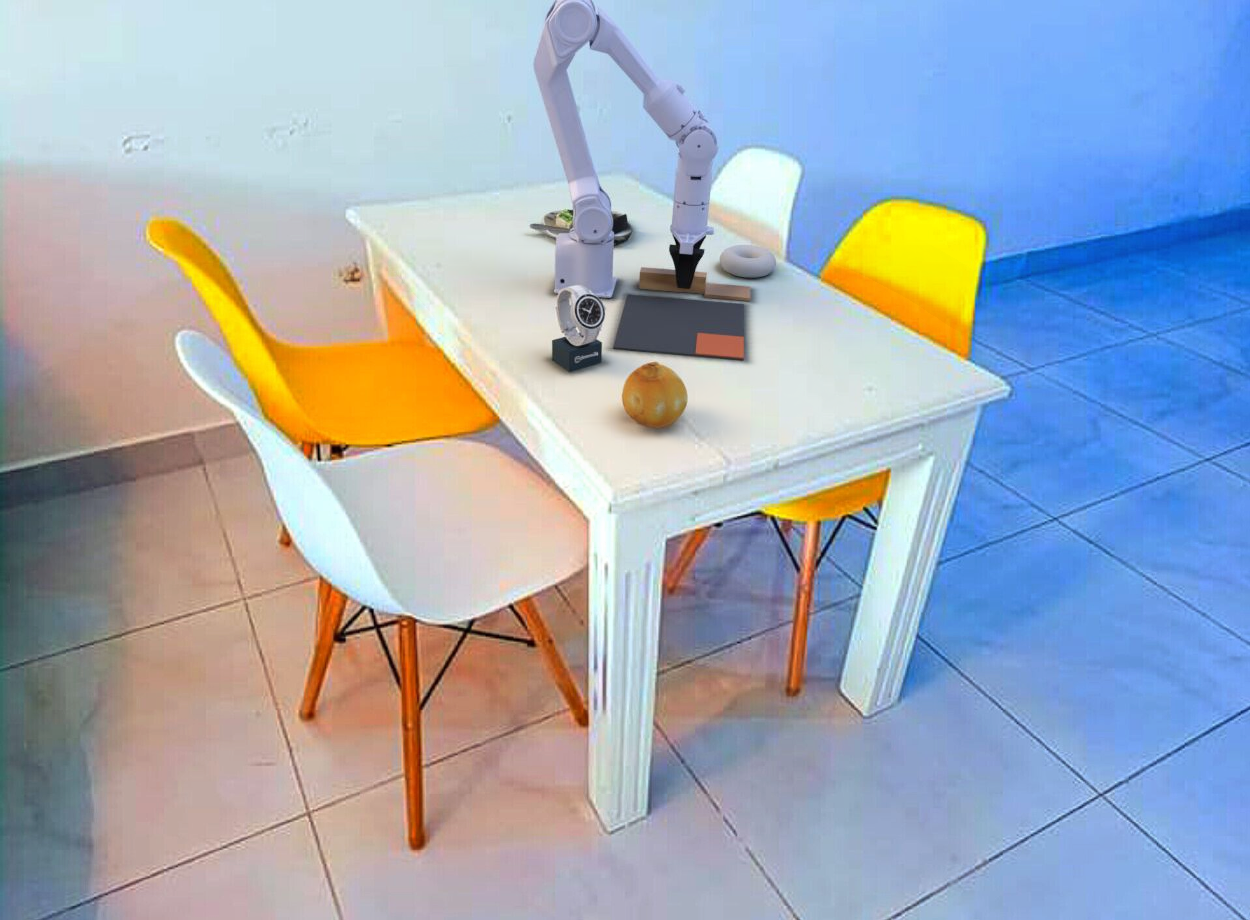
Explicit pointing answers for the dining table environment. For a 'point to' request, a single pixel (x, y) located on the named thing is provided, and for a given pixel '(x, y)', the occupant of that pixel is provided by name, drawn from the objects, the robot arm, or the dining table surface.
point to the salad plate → (564, 222)
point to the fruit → (654, 395)
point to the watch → (588, 319)
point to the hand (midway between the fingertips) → (684, 280)
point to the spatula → (667, 282)
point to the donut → (747, 261)
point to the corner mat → (682, 327)
